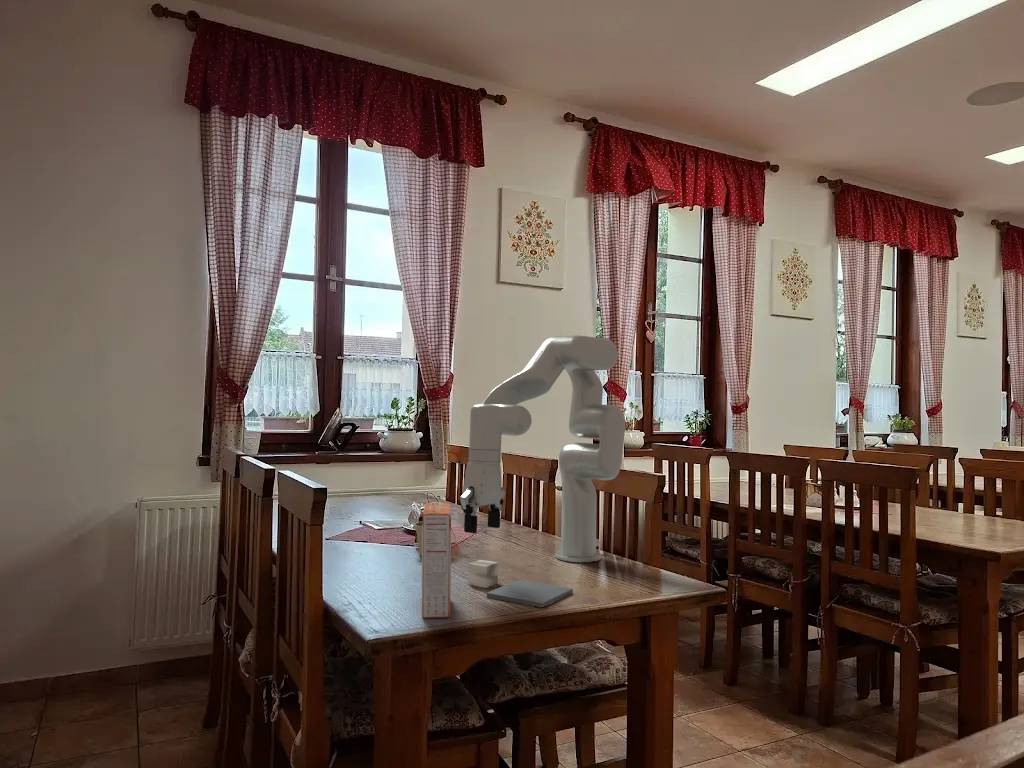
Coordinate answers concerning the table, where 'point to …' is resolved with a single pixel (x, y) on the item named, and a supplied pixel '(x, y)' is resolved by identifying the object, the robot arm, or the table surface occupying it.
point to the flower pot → (419, 535)
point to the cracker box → (436, 560)
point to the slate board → (529, 593)
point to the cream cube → (483, 573)
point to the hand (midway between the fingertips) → (482, 529)
